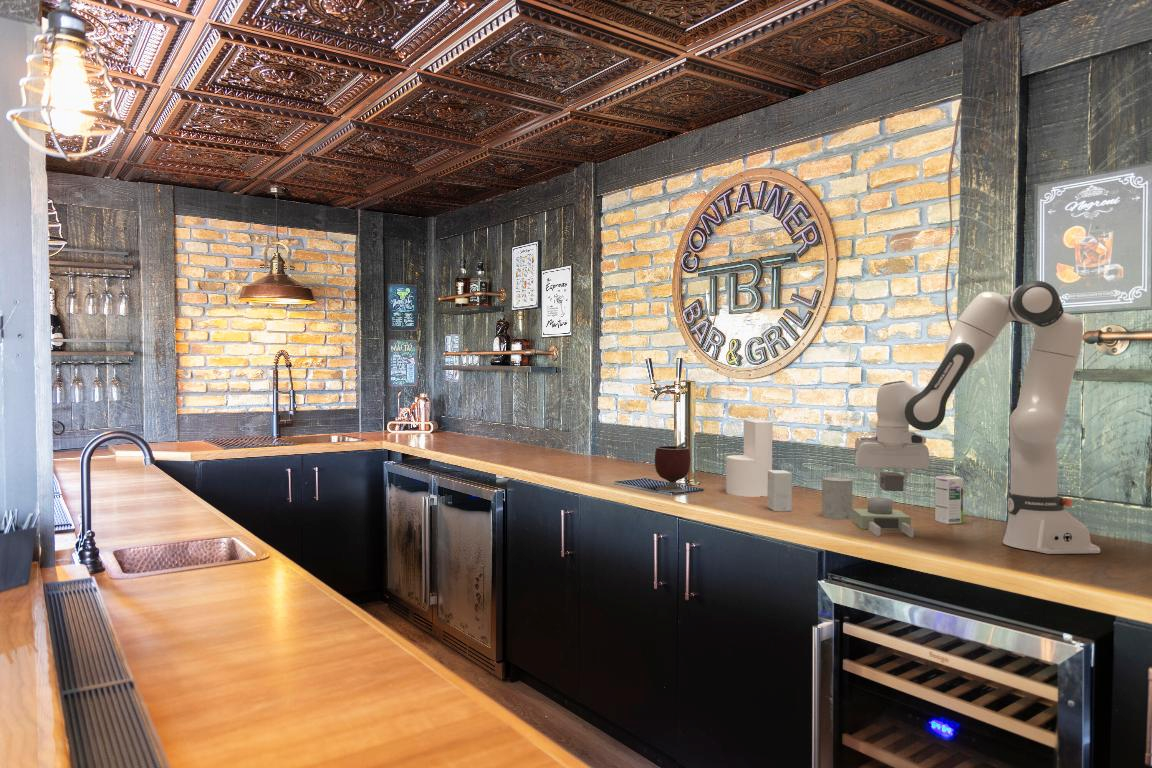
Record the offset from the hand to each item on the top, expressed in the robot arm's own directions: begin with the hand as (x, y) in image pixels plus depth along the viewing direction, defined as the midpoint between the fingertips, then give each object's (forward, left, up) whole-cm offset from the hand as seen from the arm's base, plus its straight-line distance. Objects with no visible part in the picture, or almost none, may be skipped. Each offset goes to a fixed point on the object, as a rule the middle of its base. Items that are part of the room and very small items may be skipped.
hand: (891, 483), depth 221 cm
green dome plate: (0, -6, -15) cm, 16 cm away
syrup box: (-23, -20, -15) cm, 34 cm away
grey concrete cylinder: (+10, -25, -15) cm, 31 cm away
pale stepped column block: (+34, -68, -15) cm, 77 cm away
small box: (+27, -35, -15) cm, 47 cm away
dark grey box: (0, 0, -2) cm, 2 cm away
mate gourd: (+63, -69, -15) cm, 95 cm away
